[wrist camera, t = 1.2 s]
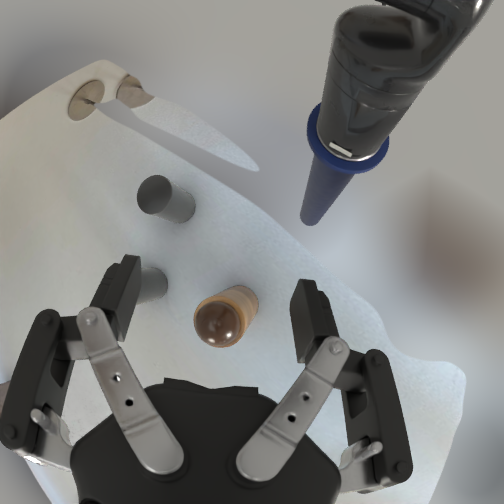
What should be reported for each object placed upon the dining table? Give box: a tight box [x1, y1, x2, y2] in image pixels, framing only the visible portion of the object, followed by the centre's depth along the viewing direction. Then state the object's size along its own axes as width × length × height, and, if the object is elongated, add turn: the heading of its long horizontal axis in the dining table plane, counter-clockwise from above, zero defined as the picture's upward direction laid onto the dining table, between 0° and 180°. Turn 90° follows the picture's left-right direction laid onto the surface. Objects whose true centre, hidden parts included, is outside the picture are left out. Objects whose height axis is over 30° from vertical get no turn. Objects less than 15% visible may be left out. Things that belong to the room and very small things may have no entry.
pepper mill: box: [194, 286, 258, 348], centre depth 29 cm, size 5×5×14 cm
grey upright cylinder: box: [136, 268, 168, 305], centre depth 33 cm, size 4×4×8 cm
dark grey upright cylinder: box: [137, 175, 195, 223], centre depth 33 cm, size 4×4×8 cm
